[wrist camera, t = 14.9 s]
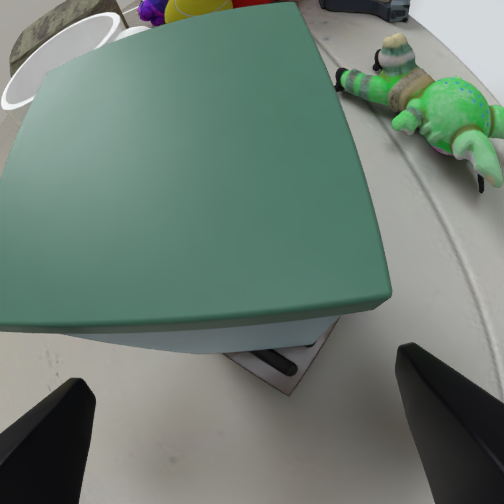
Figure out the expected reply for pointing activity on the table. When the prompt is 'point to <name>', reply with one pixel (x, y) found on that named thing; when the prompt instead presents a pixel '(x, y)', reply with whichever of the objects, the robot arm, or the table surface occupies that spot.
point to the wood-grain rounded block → (57, 26)
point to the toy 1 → (153, 11)
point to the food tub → (190, 193)
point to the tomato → (248, 3)
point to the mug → (60, 57)
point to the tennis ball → (193, 8)
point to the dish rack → (281, 362)
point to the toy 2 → (432, 107)
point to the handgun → (372, 7)
